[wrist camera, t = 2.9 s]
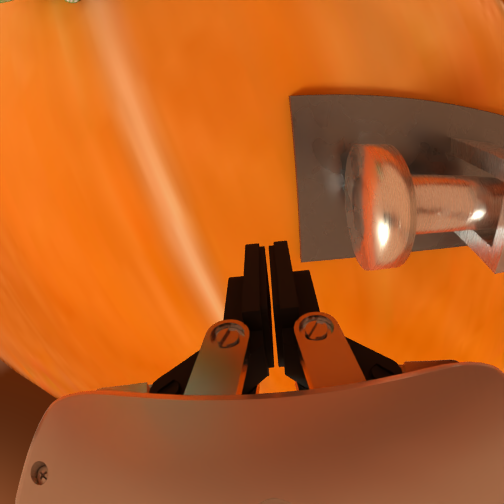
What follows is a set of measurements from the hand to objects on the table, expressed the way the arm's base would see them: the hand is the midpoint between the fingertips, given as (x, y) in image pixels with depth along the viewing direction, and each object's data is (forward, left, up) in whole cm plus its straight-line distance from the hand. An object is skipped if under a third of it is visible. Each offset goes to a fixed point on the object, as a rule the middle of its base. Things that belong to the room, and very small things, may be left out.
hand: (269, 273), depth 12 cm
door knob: (-13, 0, -11) cm, 17 cm away
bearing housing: (-15, 0, -12) cm, 20 cm away
